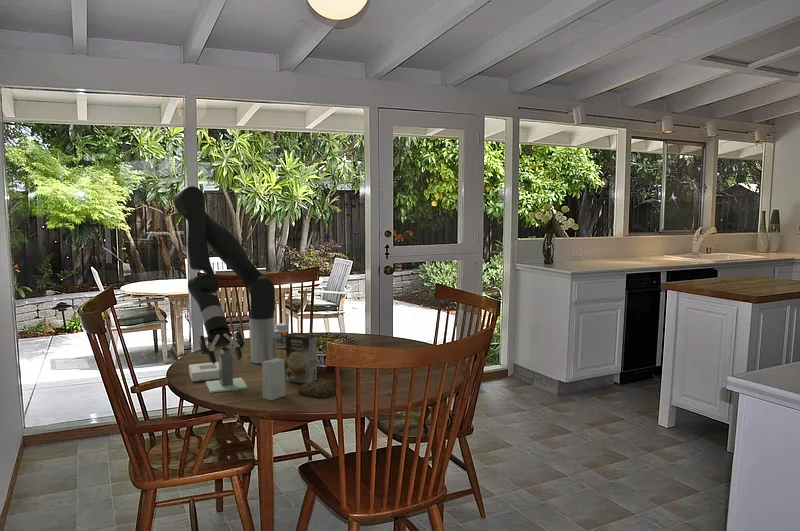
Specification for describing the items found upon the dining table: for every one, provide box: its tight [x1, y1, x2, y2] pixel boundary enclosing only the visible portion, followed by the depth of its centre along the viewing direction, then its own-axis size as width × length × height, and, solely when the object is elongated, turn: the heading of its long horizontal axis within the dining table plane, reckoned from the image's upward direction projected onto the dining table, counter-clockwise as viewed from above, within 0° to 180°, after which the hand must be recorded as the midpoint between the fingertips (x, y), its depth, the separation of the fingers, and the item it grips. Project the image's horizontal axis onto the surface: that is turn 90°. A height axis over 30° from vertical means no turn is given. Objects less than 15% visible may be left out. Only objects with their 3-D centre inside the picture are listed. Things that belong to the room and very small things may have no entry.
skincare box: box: [261, 357, 286, 401], centre depth 193 cm, size 6×4×12 cm
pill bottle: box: [274, 322, 289, 349], centre depth 261 cm, size 6×6×10 cm
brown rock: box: [297, 376, 337, 399], centre depth 199 cm, size 13×12×5 cm
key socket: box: [188, 361, 219, 382], centre depth 219 cm, size 12×12×3 cm
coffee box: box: [285, 332, 318, 384], centre depth 212 cm, size 9×6×16 cm
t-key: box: [218, 347, 234, 386], centre depth 205 cm, size 4×5×12 cm
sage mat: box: [205, 377, 248, 394], centre depth 206 cm, size 12×12×1 cm
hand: (227, 360), depth 205 cm, fingers open, 8 cm apart
